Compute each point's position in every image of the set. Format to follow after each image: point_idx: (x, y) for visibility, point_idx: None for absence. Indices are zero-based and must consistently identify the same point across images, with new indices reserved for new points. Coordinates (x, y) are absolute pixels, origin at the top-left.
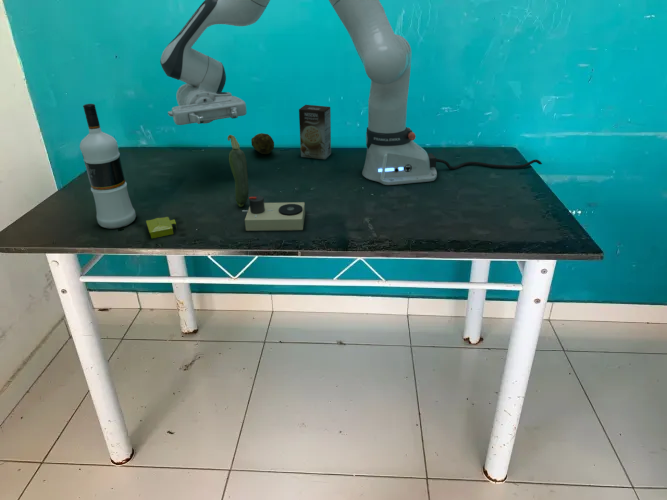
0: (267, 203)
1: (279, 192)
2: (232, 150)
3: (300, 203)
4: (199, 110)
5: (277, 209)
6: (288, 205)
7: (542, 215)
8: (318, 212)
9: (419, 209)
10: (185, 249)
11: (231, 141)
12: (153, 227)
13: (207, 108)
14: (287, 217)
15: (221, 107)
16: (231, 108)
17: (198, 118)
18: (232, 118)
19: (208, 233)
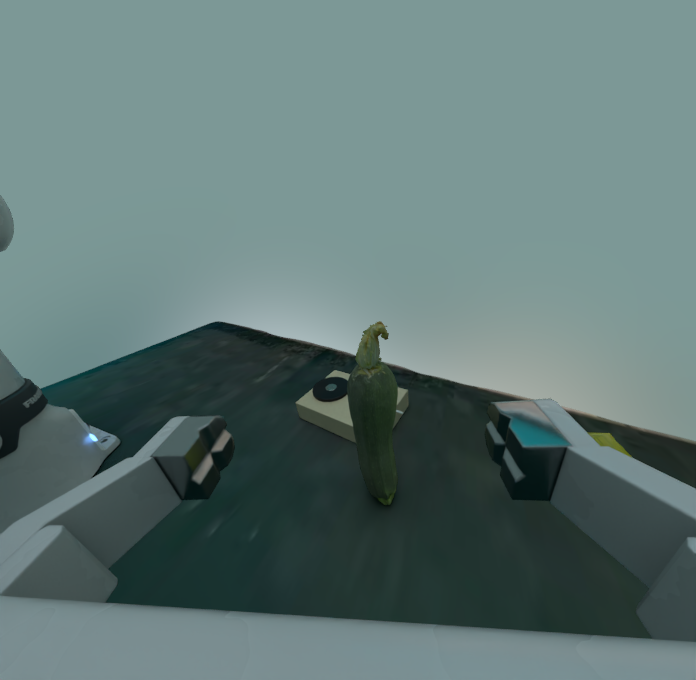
0: (348, 421)
1: (260, 530)
2: (381, 365)
3: (303, 401)
4: (627, 641)
5: (346, 398)
6: (326, 395)
7: (165, 346)
8: (284, 411)
9: (200, 377)
10: (511, 394)
11: (376, 347)
12: (608, 442)
13: (401, 627)
14: (348, 377)
15: (110, 607)
16: (62, 532)
17: (538, 401)
18: (232, 454)
19: (473, 420)
